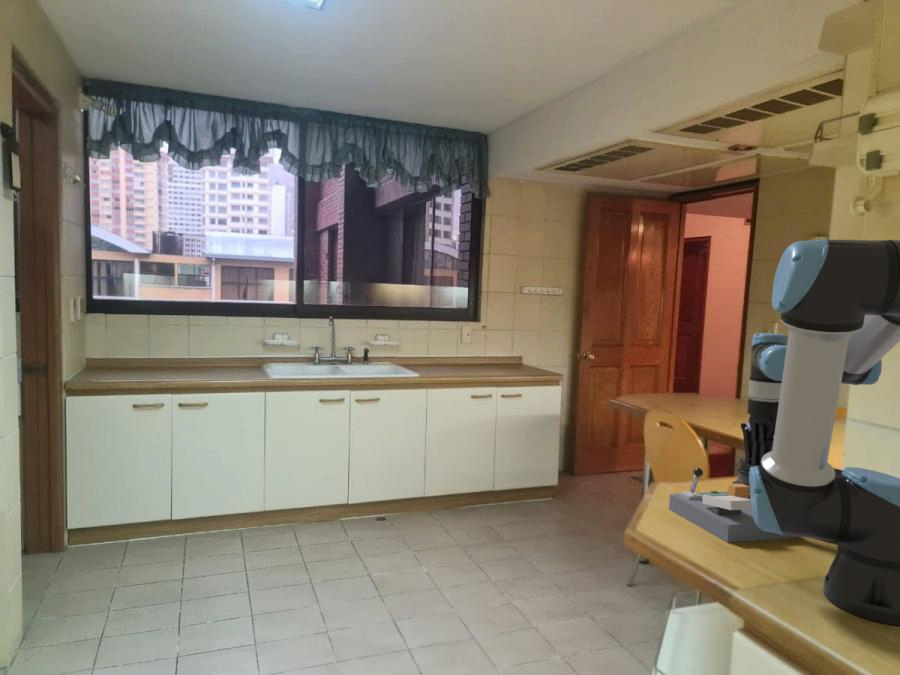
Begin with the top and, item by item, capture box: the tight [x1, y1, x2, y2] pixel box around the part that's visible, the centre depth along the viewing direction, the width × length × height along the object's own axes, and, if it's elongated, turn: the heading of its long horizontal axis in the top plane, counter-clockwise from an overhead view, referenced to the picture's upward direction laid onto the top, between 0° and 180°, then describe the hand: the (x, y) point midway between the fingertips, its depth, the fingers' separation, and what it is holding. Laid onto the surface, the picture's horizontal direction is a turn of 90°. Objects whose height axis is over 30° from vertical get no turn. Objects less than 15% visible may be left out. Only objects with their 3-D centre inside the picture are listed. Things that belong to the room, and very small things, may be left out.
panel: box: [668, 490, 796, 543], centre depth 146 cm, size 22×18×6 cm
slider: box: [727, 484, 750, 499], centre depth 148 cm, size 2×4×4 cm, turn 103°
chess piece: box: [732, 456, 751, 500], centre depth 167 cm, size 6×6×12 cm
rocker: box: [702, 494, 752, 510], centre depth 141 cm, size 10×6×2 cm, turn 13°
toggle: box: [689, 467, 704, 493], centre depth 151 cm, size 2×2×7 cm
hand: (759, 497), depth 142 cm, fingers closed
